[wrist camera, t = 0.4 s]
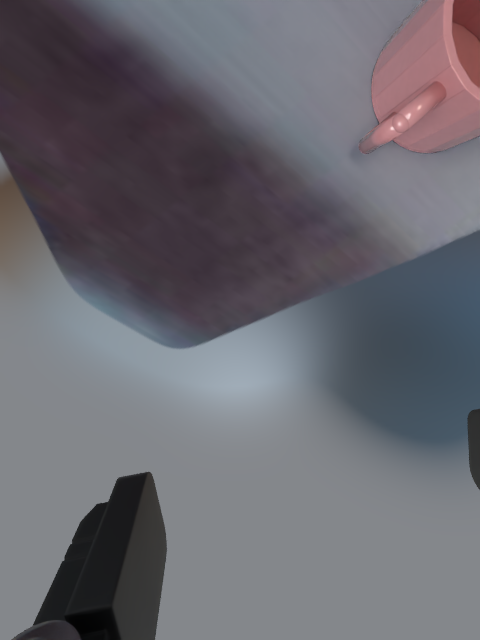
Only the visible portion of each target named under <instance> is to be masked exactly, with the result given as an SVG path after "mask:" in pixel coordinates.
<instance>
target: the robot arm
mask: <svg viewBox="0 0 480 640" xmlns="http://www.w3.org/2000/svg"><path fill="white" fill-rule="evenodd" d="M468 441H469V462H470V463H469V464H470V471H471V474H472V477H473V479H474V482H475V483H476V485H477V487H478V488H479V489H480V409H477V410H472V411H471V412H470V413H469V415H468ZM166 546H167V545H166V533H165V527H164V522H163V518H162V513H161V509H160V505H159V500H158V496H157V492H156V487H155V483H154V479H153V476H152V474H151V473H150V472H145V473H140V474H134V475H129V476H124V477H119V478H118V479H117V481H116V484H115V486H114V489H113V491H112V494H111V496H110V499H109V501H108V502H105V503H100V504H97V505H96V506H95V507H94V508H93V509H92V510H91V511H90V512H89V513H88V514H87V515H86V516H85V518H84V519H83V520H82V521H81V522H80V524H79V527H78V529H77V531H76V533H75V535H74V537H73V539H72V544H71V545H70V546H69V548H68V550H67V553H66V555H65V560H64V561H63V562H62V563H61V566H60V568H59V570H58V572H57V574H56V577H55V578H54V581H53V583H52V585H51V587H50V589H49V592H48V594H47V596H46V598H45V600H44V602H43V604H42V607H41V609H40V611H39V613H38V615H37V617H36V620H35V622H34V624H33V626H32V627H30V628H29V629H27V630H25V631H24V632H22V633H20V634H18V635H17V636H16V637H14V638H13V639H12V640H155V635H156V627H157V620H158V613H159V606H160V598H161V591H162V583H163V576H164V569H165V562H166V552H167V547H166Z"/></svg>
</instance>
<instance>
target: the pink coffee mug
mask: <svg viewBox="0 0 480 640" xmlns="http://www.w3.org/2000/svg"><path fill="white" fill-rule="evenodd" d="M371 93H372V103H373V108H374V111H375V115H376V117H377V119H378V122H379V124H378V125H377V126H376V127H375V128H374V129H372V130H371V131H370V132H369V133H368V134H367V135H365V136H364V137H363V138H362V139H361V140H360V142H359V150H360V151H361V152H362V153H364V154H369V153H371V152H373V151H374V150H376V149H378V148H379V147H381V146H383V145H384V144H386V143H388V142H389V141H391V140H393V141H394V142H396V143H397V144H399V145H400V146H402V147H404V148H406V149H408V150H411V151H414V152H419V153H435V152H440V151H444V150H447V149H449V148H452V147H454V146H456V145H459V144H461V143H464V142H466V141H468V140H471V139H473V138H476V137H478V136H480V0H422V2H421V3H420V4H419V5H418V6H417V7H416V9H415V10H414V11H413V12H412V13H411V14H410V16H409V17H408V18H407V19H406V20H405V21H404V23H403V24H402V25H401V26H400V27H399V28H398V30H397V31H396V32H395V33H394V34H393V35H392V37H391V38H390V40H389V41H388V43H387V44H386V45H385V47H384V48H383V50H382V52H381V53H380V55H379V57H378V60H377V62H376V65H375V68H374V72H373V77H372V86H371Z"/></svg>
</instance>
